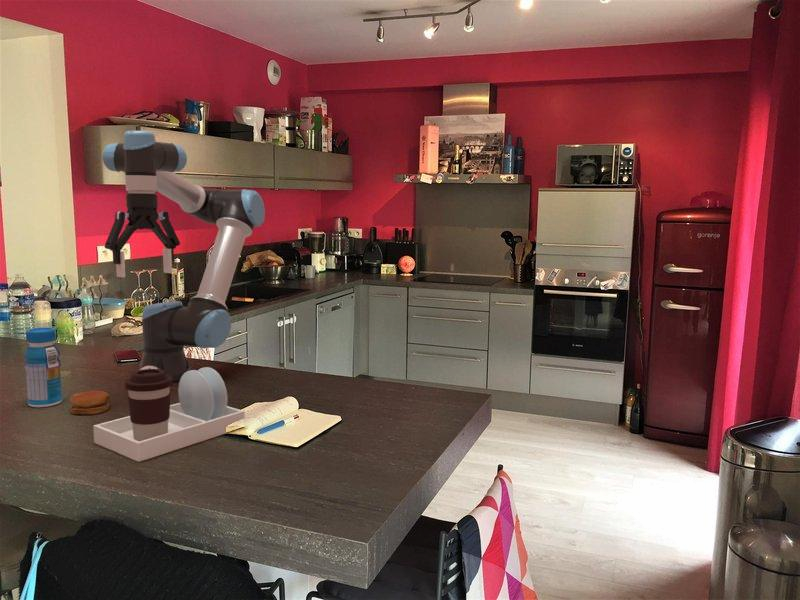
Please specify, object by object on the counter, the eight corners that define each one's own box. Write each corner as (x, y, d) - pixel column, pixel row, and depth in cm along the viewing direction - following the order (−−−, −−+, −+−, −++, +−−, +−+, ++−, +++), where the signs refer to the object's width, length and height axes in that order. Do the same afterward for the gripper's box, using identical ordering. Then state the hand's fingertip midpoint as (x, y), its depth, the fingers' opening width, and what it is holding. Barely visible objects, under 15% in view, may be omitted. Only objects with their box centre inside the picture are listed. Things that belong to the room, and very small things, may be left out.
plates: (194, 413, 164) (193, 363, 163) (228, 424, 157) (226, 371, 155) (179, 418, 161) (177, 366, 159) (212, 429, 153) (211, 375, 151)
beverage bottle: (26, 409, 168) (21, 333, 165) (27, 401, 176) (22, 327, 173) (63, 405, 172) (58, 331, 169) (62, 397, 180) (58, 325, 177)
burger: (107, 414, 166) (106, 396, 166) (67, 417, 163) (66, 399, 163) (112, 403, 176) (111, 386, 175) (73, 406, 173) (72, 389, 172)
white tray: (199, 412, 168) (199, 397, 168) (244, 427, 158) (244, 411, 157) (94, 442, 146) (93, 425, 146) (138, 461, 136) (138, 443, 135)
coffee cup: (183, 433, 150) (181, 369, 148) (150, 447, 141) (148, 380, 139) (151, 426, 154) (148, 364, 152) (117, 440, 145) (114, 374, 143)
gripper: (174, 193, 180) (177, 270, 184) (86, 191, 160) (91, 277, 164) (191, 193, 176) (194, 272, 179) (103, 191, 156) (108, 280, 159)
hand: (145, 274), depth 171 cm, fingers open, 13 cm apart
